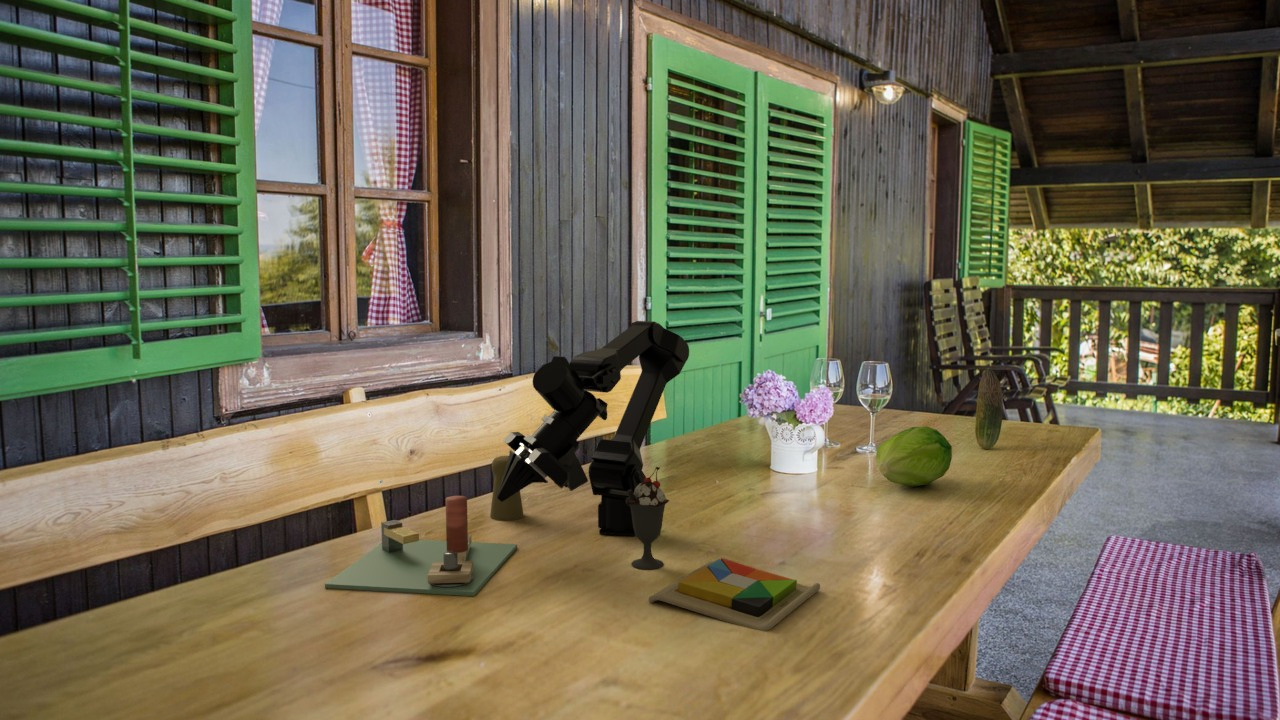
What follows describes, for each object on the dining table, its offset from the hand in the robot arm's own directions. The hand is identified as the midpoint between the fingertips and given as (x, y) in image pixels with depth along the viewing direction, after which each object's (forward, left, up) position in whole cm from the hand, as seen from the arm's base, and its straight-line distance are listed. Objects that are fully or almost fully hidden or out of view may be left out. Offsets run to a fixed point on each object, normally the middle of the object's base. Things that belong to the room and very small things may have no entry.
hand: (498, 499), depth 144 cm
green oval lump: (-69, -57, -10) cm, 90 cm away
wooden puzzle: (-37, +10, -11) cm, 40 cm away
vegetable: (-94, -101, -10) cm, 138 cm away
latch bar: (+5, +4, -9) cm, 11 cm away
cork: (+6, -25, -10) cm, 28 cm away
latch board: (+10, +4, -10) cm, 15 cm away
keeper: (+16, +1, -10) cm, 19 cm away
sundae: (-23, -2, -10) cm, 25 cm away
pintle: (+4, +11, -10) cm, 15 cm away
